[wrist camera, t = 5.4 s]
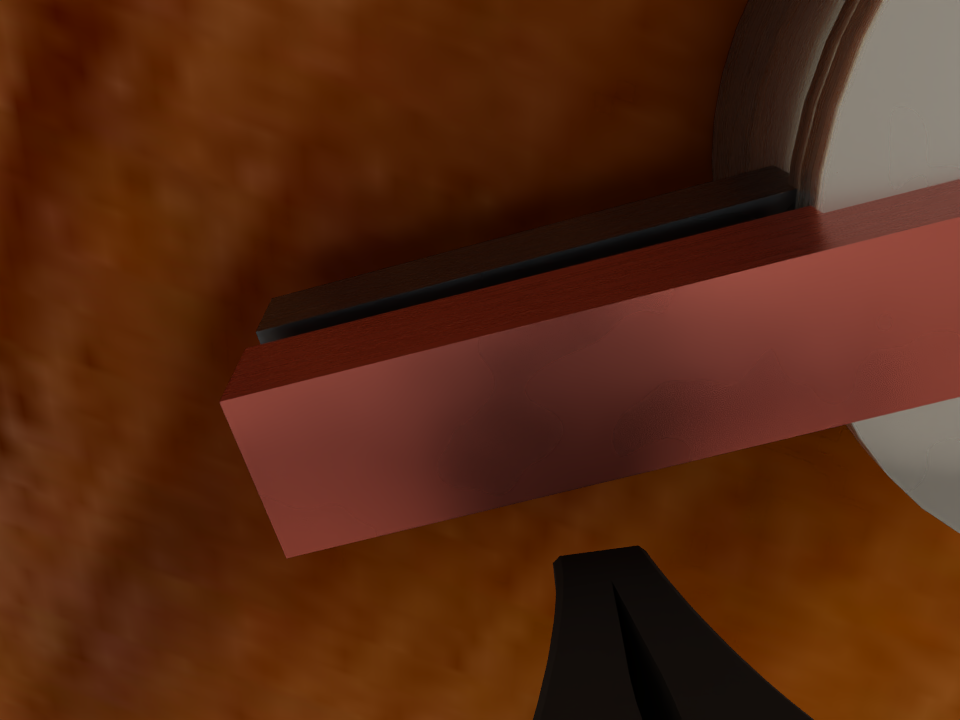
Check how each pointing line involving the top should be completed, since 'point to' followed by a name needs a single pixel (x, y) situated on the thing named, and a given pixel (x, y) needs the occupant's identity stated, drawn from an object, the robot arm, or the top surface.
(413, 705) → the top surface
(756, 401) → the lid
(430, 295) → the pot
